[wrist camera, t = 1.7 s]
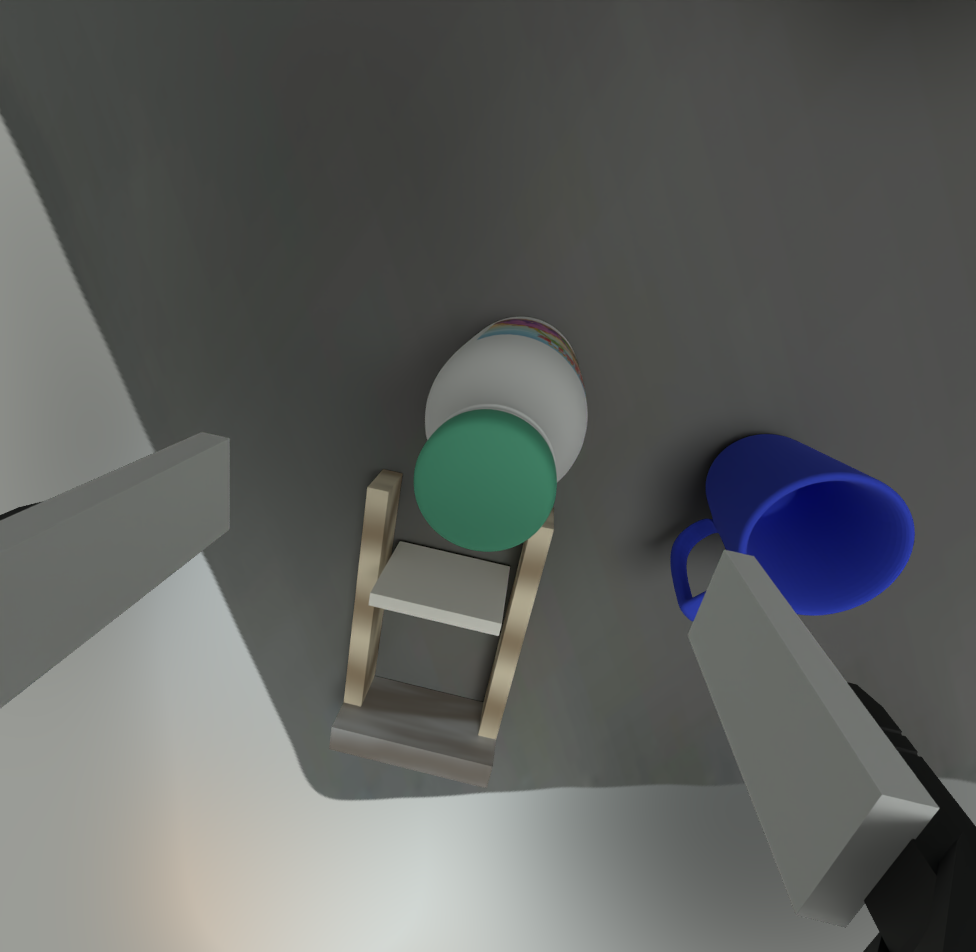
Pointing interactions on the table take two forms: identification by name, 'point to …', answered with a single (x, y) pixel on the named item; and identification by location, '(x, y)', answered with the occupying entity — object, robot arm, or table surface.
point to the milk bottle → (500, 434)
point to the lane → (415, 710)
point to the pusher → (443, 588)
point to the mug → (801, 525)
